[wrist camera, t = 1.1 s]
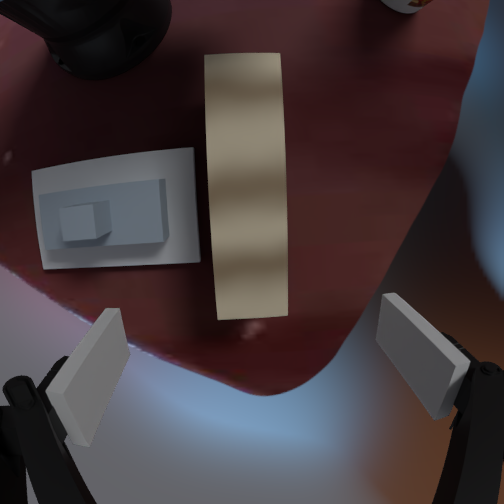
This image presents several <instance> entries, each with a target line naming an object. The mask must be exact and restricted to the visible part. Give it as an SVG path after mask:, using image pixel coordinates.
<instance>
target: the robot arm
mask: <svg viewBox="0 0 504 504" xmlns="http://www.w3.org/2000/svg"><path fill="white" fill-rule="evenodd" d="M0 14H1V15H3V16H5V17H7V18H9V19H10V20H12V21H14V22H16V23H18V24H19V25H21V26H23V27H25V28H27V29H28V30H30V31H32V32H34V33H35V34H37V35H39V36H40V37H42V38H44V41H45V43H46V45H47V47H48V49H49V51H50V53H51V55H52V57H53V59H54V61H55V62H56V63H57V64H58V66H59V67H61V68H62V69H63V70H65V71H66V72H68V73H70V74H72V75H74V76H76V77H78V78H81V79H87V80H99V79H105V78H110V77H113V76H116V75H118V74H121V73H123V72H125V71H127V70H129V69H131V68H133V67H134V66H136V65H137V64H139V63H140V62H141V61H143V60H144V59H145V58H146V57H147V56H148V55H149V54H150V53H151V52H152V51H153V50H154V49H155V48H156V47H157V46H158V44H159V43H160V42H161V40H162V39H163V37H164V35H165V34H166V32H167V29H168V27H169V24H170V21H171V15H172V6H171V1H170V0H0ZM376 341H377V343H378V344H379V345H380V347H381V348H382V349H383V351H384V352H385V353H386V355H387V356H388V357H389V359H390V360H391V361H392V363H393V364H394V366H395V367H396V368H397V369H398V371H399V372H400V373H401V375H402V376H403V378H404V379H405V380H406V382H407V383H408V385H409V386H410V387H411V389H412V390H413V391H414V393H415V394H416V395H417V397H418V398H419V400H420V401H421V402H422V404H423V405H424V407H425V408H426V410H427V411H428V412H429V414H430V415H431V417H432V418H433V420H437V419H441V418H443V417H446V416H449V414H450V412H451V410H452V407H453V405H455V407H456V408H457V409H458V411H457V414H456V416H455V418H454V420H453V422H452V424H451V426H450V428H449V429H452V427H453V430H452V435H451V439H450V444H449V448H448V452H447V456H446V460H445V463H444V467H443V471H442V474H441V477H440V481H439V484H438V487H437V490H436V493H435V496H434V499H433V502H432V504H497V500H498V495H499V488H500V481H501V472H502V464H503V462H504V370H502V369H501V368H500V367H499V366H498V365H496V364H495V363H492V362H479V361H478V360H477V359H475V357H473V356H472V355H471V354H470V353H469V352H468V351H467V350H466V349H465V348H463V346H461V345H460V344H458V342H457V341H456V340H455V339H454V338H453V337H452V336H449V335H447V334H445V333H443V332H441V333H440V332H439V331H438V330H437V329H435V328H434V327H433V326H432V325H431V324H430V323H429V322H428V321H427V320H425V319H424V318H423V317H422V316H421V315H420V314H419V313H418V312H416V311H415V310H414V309H413V308H412V307H411V306H410V305H408V304H407V303H406V302H405V301H404V300H403V299H402V298H400V297H399V296H398V295H397V294H396V293H389V294H383V295H382V302H381V309H380V316H379V322H378V329H377V335H376ZM129 356H130V352H129V348H128V344H127V340H126V335H125V331H124V327H123V322H122V318H121V313H120V308H106V309H105V310H104V311H103V313H102V314H101V315H100V316H99V318H98V319H97V320H96V322H95V323H94V324H93V326H92V327H91V328H90V330H89V331H88V332H87V333H86V335H85V336H84V338H83V339H82V340H81V341H80V343H79V344H78V346H77V347H76V348H75V350H74V351H73V352H72V354H71V355H70V356H64V357H62V358H61V359H60V360H58V361H57V362H56V363H55V364H54V365H53V367H52V368H51V371H49V372H48V373H47V376H45V378H44V379H43V381H42V382H41V383H40V384H39V386H38V387H37V389H36V387H35V385H34V383H33V381H32V379H31V378H29V377H28V376H22V375H21V376H16V377H14V378H12V379H10V380H8V381H7V382H6V383H5V385H4V386H3V393H4V395H5V397H6V399H7V400H8V402H9V404H10V406H0V504H28V501H27V486H26V468H27V472H28V475H29V478H30V481H31V484H32V487H33V490H34V492H35V495H36V497H37V500H38V503H39V504H97V503H96V502H95V500H94V498H93V496H92V495H91V493H90V491H89V490H88V488H87V486H86V484H85V482H84V480H83V478H82V476H81V475H80V473H79V471H78V469H77V467H76V465H75V462H74V460H73V458H72V456H71V454H70V452H69V450H68V448H67V446H66V444H65V442H64V440H65V438H66V436H67V435H68V436H69V438H70V440H71V441H72V443H73V444H74V445H79V446H84V447H90V446H91V443H92V441H93V438H94V436H95V434H96V431H97V429H98V426H99V424H100V422H101V419H102V417H103V414H104V412H105V410H106V407H107V405H108V403H109V400H110V398H111V396H112V394H113V391H114V389H115V387H116V385H117V383H118V380H119V378H120V376H121V374H122V372H123V369H124V367H125V365H126V363H127V361H128V359H129Z"/></svg>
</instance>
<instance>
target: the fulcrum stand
mask: <svg viewBox="0 0 504 504" xmlns="http://www.w3.org/2000/svg"><path fill="white" fill-rule="evenodd" d="M32 186H33V198H34V209H35V218H36V226H37V233H38V240H39V247H40V253H41V258H42V264H43V269H63V268H86V267H109V266H131V265H153V264H174V263H194V262H200V261H201V253H200V240H199V226H198V211H197V195H196V176H195V154H194V148H193V147H189V148H177V149H167V150H157V151H148V152H140V153H132V154H124V155H117V156H110V157H104V158H97V159H91V160H85V161H79V162H74V163H68V164H63V165H58V166H53V167H48V168H43V169H39V170H34V171H32Z"/></svg>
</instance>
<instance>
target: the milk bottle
mask: <svg viewBox="0 0 504 504" xmlns="http://www.w3.org/2000/svg"><path fill="white" fill-rule="evenodd" d="M381 1H382V2H383V3H384V4H385V5H387V6H388V7H390V8H392V9H393V10H396V11H398V12H401V13H415V12H417V11H418V10H420V9H421V8H423V7H424V6H425V5H427V4H428V3H430V2H431V1H432V0H381Z"/></svg>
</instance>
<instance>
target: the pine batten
mask: <svg viewBox="0 0 504 504" xmlns="http://www.w3.org/2000/svg"><path fill="white" fill-rule="evenodd" d="M204 64H205V115H206V145H207V169H208V190H209V208H210V225H211V240H212V255H213V268H214V281H215V294H216V306H217V317H218V320H226V319H245V318H262V317H276V316H288V246H287V194H286V161H285V135H284V113H283V93H282V76H281V60H280V53H231V54H212V55H204Z"/></svg>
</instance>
